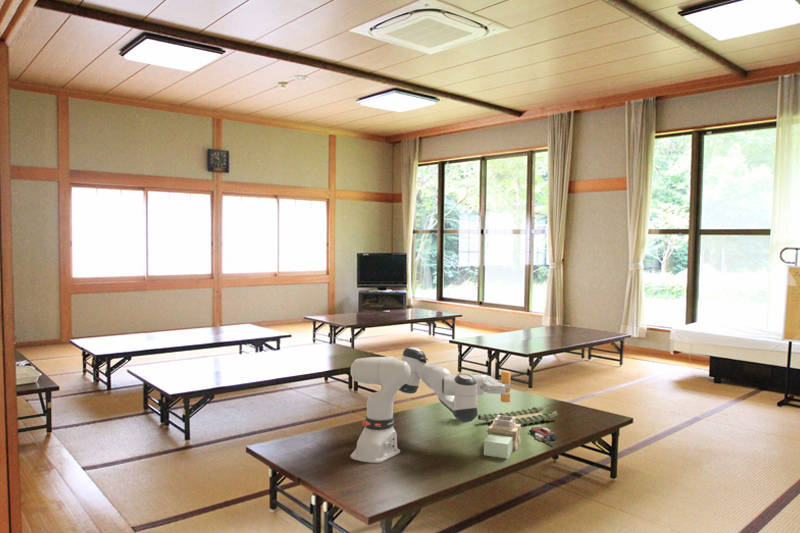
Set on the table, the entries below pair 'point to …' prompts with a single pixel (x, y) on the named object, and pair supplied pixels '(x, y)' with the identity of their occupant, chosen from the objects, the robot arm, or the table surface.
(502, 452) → the block
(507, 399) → the orange cylinder
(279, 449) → the table surface
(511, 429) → the tan stepped block
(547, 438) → the walkie-talkie
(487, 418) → the stretcher
